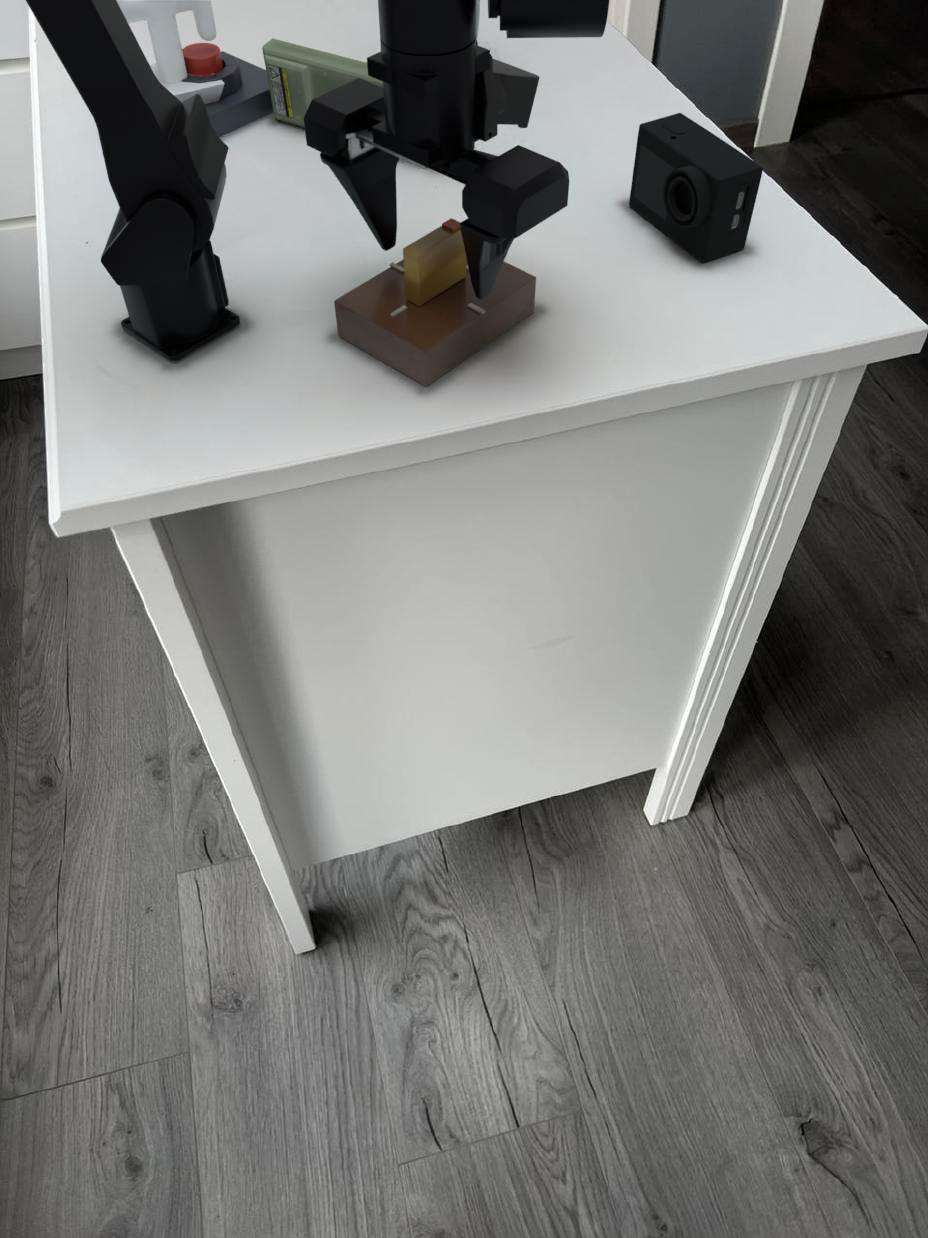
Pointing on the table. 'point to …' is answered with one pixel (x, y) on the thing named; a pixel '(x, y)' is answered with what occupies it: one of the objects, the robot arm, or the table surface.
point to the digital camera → (694, 186)
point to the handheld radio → (307, 78)
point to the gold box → (434, 263)
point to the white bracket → (174, 42)
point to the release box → (237, 94)
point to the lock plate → (431, 320)
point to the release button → (202, 59)
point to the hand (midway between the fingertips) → (434, 271)
